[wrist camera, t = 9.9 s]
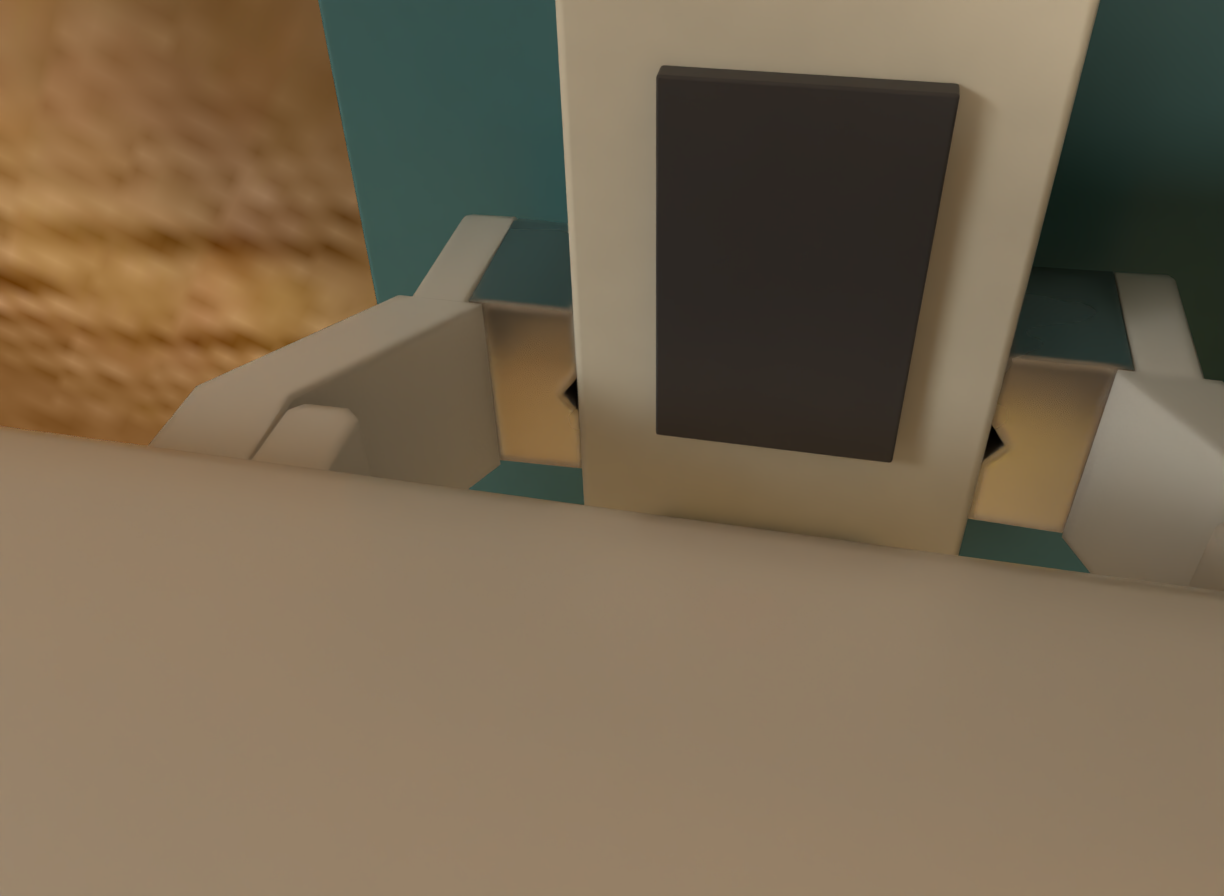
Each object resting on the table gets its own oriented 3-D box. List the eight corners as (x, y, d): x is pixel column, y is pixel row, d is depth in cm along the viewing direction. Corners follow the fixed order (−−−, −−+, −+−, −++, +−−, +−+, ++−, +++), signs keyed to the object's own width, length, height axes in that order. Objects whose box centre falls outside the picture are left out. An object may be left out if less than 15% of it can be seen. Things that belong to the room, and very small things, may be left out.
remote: (641, 611, 16) (593, 797, 14) (630, -496, 8) (513, -478, 6) (895, 649, 15) (888, 849, 13) (1149, -510, 7) (1239, -492, 5)
